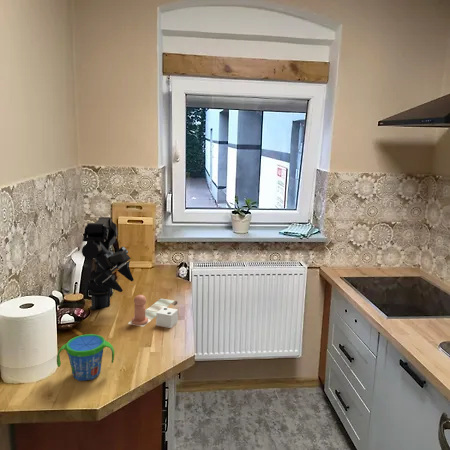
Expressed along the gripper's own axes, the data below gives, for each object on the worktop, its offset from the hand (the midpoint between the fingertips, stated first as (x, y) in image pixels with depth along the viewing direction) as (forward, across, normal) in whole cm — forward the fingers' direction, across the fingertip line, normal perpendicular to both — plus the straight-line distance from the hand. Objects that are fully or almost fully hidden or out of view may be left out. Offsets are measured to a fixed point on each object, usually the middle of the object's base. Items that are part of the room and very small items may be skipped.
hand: (127, 286), depth 149 cm
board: (+16, +5, +3) cm, 17 cm away
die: (+21, -3, -4) cm, 22 cm away
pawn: (+13, -5, +2) cm, 14 cm away
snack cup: (+10, -40, 0) cm, 41 cm away
